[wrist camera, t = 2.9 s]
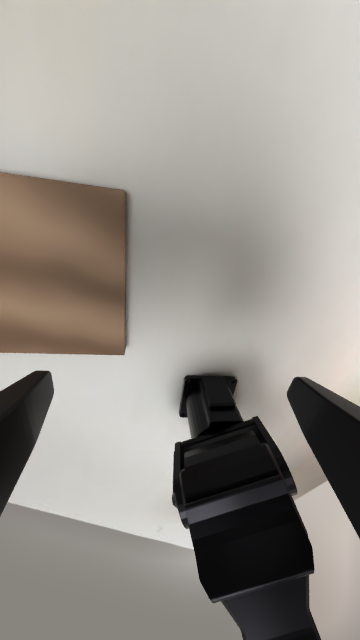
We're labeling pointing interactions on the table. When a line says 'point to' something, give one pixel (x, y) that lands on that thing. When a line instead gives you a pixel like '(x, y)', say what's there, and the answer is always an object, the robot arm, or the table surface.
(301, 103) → the table surface
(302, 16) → the table surface
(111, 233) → the walnut board
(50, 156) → the table surface
